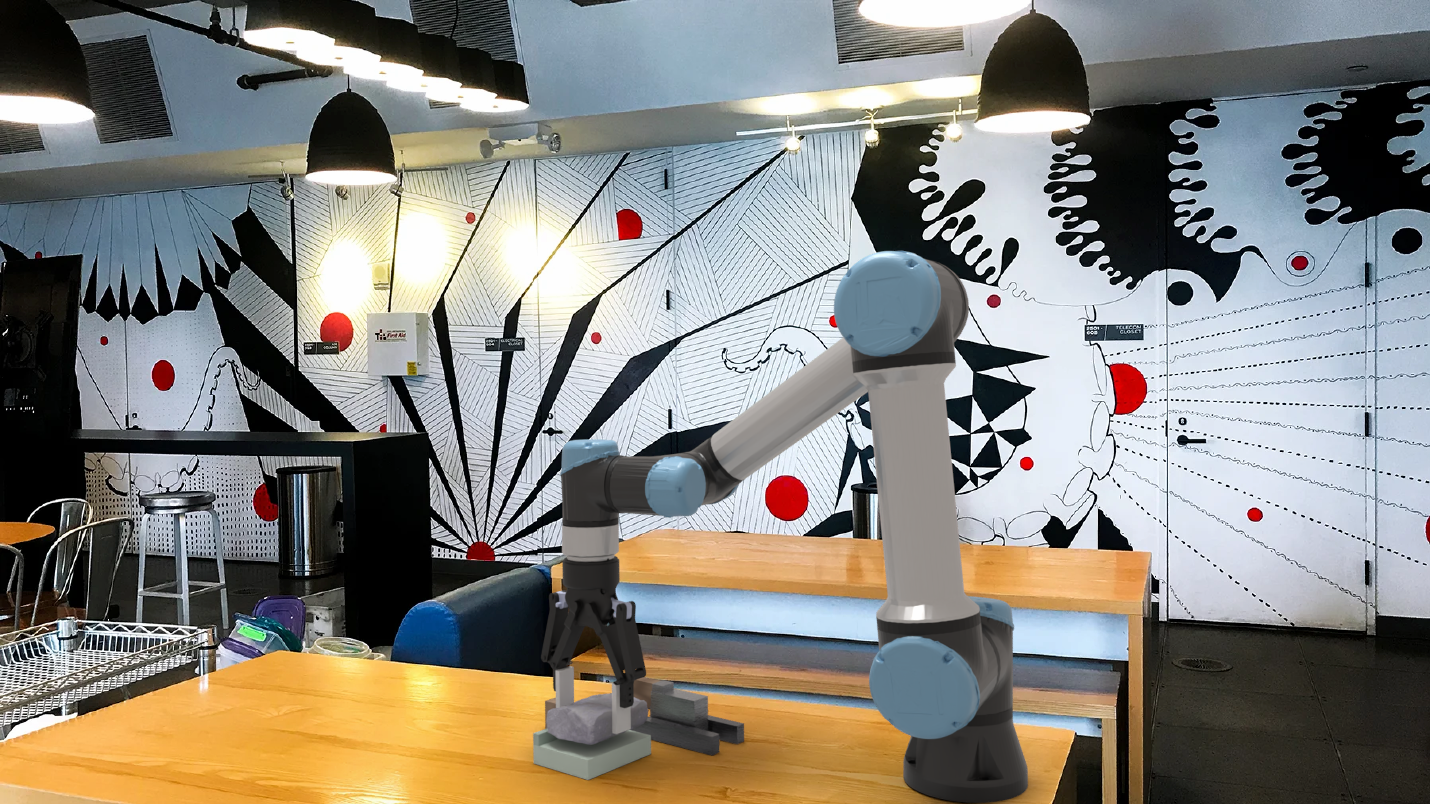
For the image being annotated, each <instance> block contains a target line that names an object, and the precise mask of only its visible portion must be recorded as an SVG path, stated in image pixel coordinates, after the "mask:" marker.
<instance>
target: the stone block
mask: <svg viewBox="0 0 1430 804" xmlns="http://www.w3.org/2000/svg"><path fill="white" fill-rule="evenodd" d="M647 717H649V709H648V708H647V703H646V702H645V701H644V700H639V699H637V698H635V697H634V703H633V706H631V729H634V728H637V727H639V726H640V725H641V724H643V723H644V722H645V721H646V720H647ZM546 724H547V729H548V733H550V734H552V735H554V736H555V737H557V738H558V739H564V740H569V741H574V742H578V743H584V744H589V745H593V744H596V743H598V742H601V741H604V740H606V739H608V738H611V737H614V736H616V735H618V734H614V733H612V692H609V693H602V694H601V693H599V694H594V695H590V696H588V697H585V698H581V699H579V700H576V701H574V703H573V704H571V705H569V706H562V707H559V708H553V709H551V710H548V713H547V719H546ZM629 730H630V729H629ZM626 731H627V730H626ZM626 731H624V732H626ZM624 732H621V733H624ZM621 733H619V734H621Z"/></svg>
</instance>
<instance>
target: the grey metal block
mask: <svg viewBox="0 0 1430 804" xmlns="http://www.w3.org/2000/svg"><path fill="white" fill-rule="evenodd" d="M674 687H675V686H674V682H673V681H668V680H666V679H665V680H660V681H659V682H656V683H653V684H652V691H651V717H652V718H656V719H660V720H664V721H669V722H673V723H677V724H681V725H685V726H689V727H693V728H697V729H701V730H705V731H708V715H709V695H705V694H700V693H696V692H690V691H687V690H682V689H677V688H674Z"/></svg>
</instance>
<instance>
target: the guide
mask: <svg viewBox="0 0 1430 804" xmlns="http://www.w3.org/2000/svg"><path fill="white" fill-rule="evenodd" d="M630 730H632V731H636V732H639V733H643V734H647V735H651V741H654V742H655V741H656V742H658V743H659V742H660V743H663V744H667V745H671V746H674V747H678V748H682V749H685V750H689V751H694V752H697V753H701V754H705V755H707V756H708V755H709V756H714V755H717V754H718V753H720V741H722V742H726V743H730V744H734V745H739V744H742V743H743V742H745V723H743V722H739V721H736V720H731V719H726V718H723V717H719V716H714V715H710V714H708V731H705V730H701V729H697V728H693V727H689V726H685V725H681V724H677V723H673V722H669V721H664V720H660V719H656V718H652V717H651V706H650V709H649V716H648V717H647V720H646V721H645V722H644V723H643V724H641V725H640V726H639V727H637V728H634V729H630Z"/></svg>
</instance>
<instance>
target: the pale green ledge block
mask: <svg viewBox="0 0 1430 804" xmlns="http://www.w3.org/2000/svg"><path fill="white" fill-rule="evenodd" d="M532 738H533V739H532V741H533V743H532V744H533V745H532V747H533V748H532V749H533V754H532V755H533V764H534V765H537V766H541V767H543V768H547V769H550V770H554V771H557V772H561V773H564V774H567V775H571V776H573V777H576V778H579V779H584V780H587V781H590V780H592V779H595V778H597V777H598V776H601V775H603V774H606V773H609V772H611V771H614V770H615V769H618V768H620V767H623V766H626V765H628V764H630V763H633V762H635V761H637V760H640V759H642V758H644V757H647V756H649V755H651V754H652V740H651V735H647V734H643V733H639V732H636V731H632V730H627V731H626V732H624V733H621V734H618V735H616V736H614V737H611V738H608V739H606V740H604V741H601V742H598V743H596V744H593V745H589V744H584V743H578V742H574V741H569V740H564V739H558V738H557V737H555V736H554V735H552V734H550V733H548V729H546V728H545V729H542V730H538V731H536V732H533V733H532Z"/></svg>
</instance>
